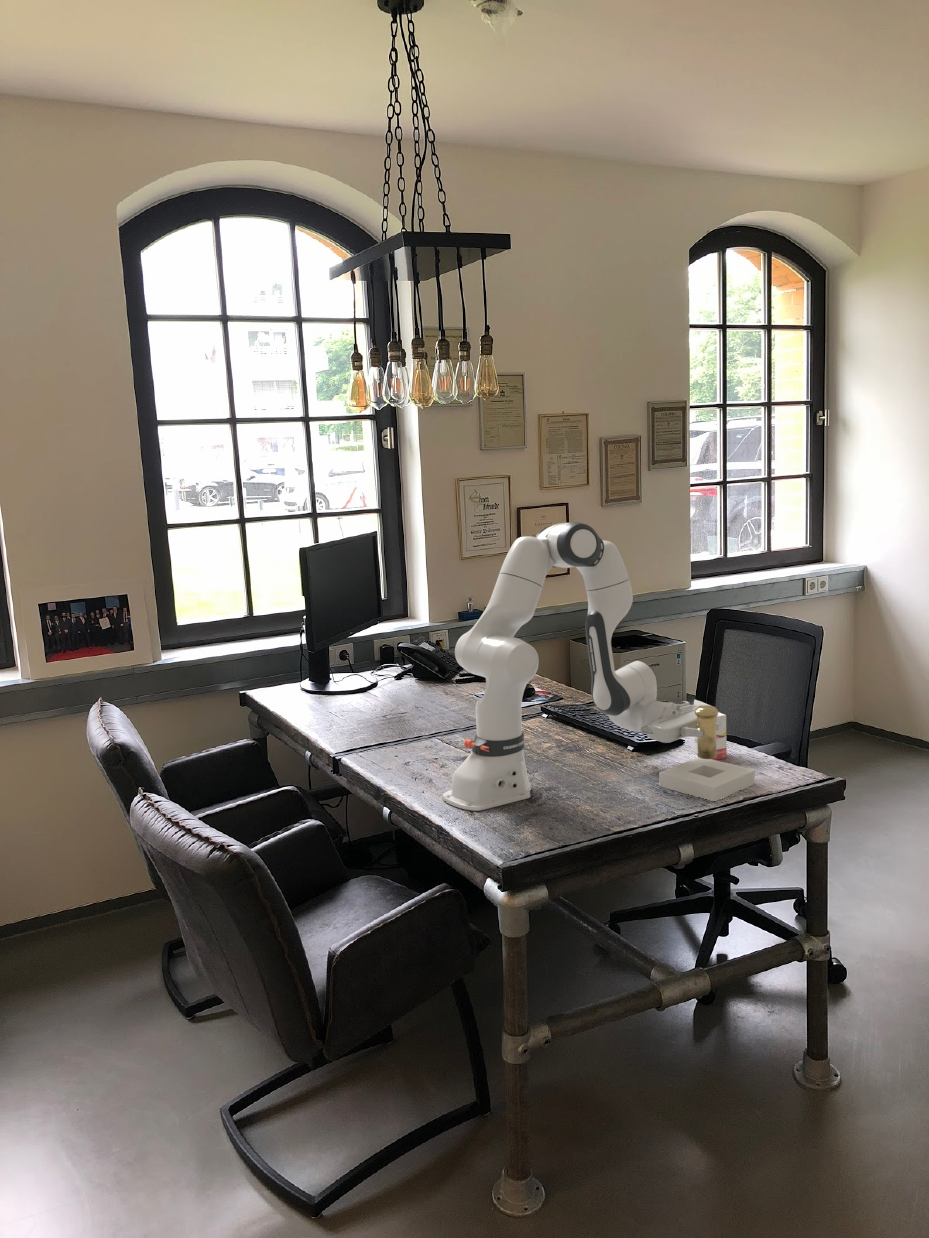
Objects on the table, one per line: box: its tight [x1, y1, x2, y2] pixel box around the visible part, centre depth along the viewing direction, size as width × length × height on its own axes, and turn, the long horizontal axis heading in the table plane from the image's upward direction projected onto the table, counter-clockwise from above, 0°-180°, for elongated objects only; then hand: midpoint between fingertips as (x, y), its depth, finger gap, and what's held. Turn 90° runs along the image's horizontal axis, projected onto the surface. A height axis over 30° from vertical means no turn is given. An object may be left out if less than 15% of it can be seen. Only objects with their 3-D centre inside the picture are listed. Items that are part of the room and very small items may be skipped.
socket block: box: [658, 756, 756, 802], centre depth 237 cm, size 16×16×4 cm
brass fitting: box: [695, 704, 719, 759], centre depth 235 cm, size 5×5×12 cm
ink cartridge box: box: [693, 699, 728, 761], centre depth 257 cm, size 9×5×15 cm, turn 21°
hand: (709, 730), depth 234 cm, fingers closed on brass fitting, 4 cm apart
